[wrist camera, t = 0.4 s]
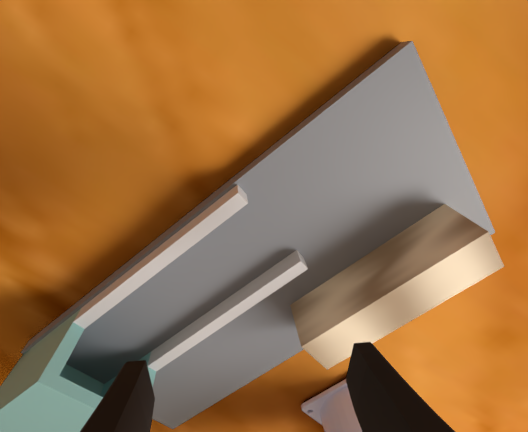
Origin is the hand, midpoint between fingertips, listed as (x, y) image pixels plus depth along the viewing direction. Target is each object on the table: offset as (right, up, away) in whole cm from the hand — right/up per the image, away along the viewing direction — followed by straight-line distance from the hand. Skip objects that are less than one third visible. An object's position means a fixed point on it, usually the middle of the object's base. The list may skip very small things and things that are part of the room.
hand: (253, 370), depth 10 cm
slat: (+8, +2, +10) cm, 13 cm away
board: (0, +1, +10) cm, 11 cm away
